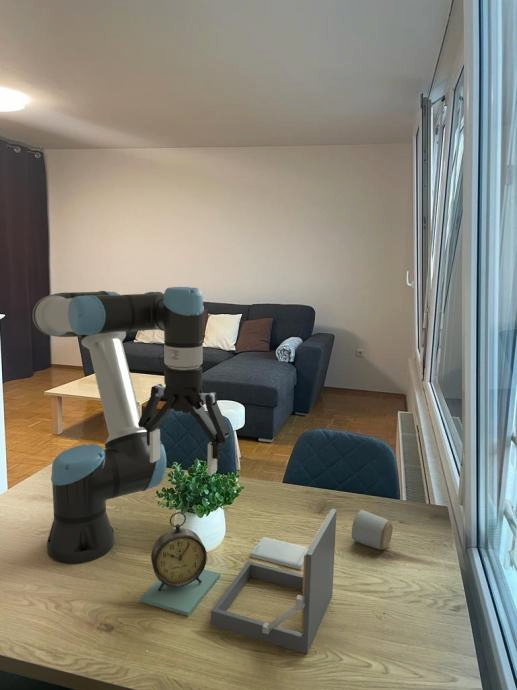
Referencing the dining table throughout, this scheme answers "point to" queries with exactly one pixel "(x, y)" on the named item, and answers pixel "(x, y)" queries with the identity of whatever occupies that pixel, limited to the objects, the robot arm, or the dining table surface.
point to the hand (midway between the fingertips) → (182, 466)
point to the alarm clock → (178, 556)
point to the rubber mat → (181, 594)
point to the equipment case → (311, 582)
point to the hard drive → (280, 552)
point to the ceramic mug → (371, 530)
